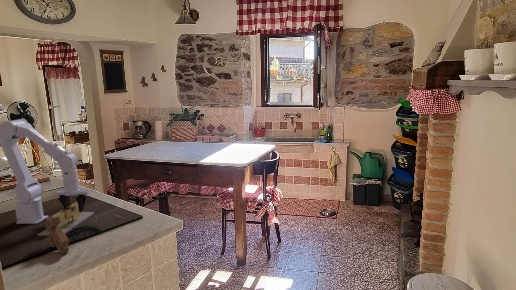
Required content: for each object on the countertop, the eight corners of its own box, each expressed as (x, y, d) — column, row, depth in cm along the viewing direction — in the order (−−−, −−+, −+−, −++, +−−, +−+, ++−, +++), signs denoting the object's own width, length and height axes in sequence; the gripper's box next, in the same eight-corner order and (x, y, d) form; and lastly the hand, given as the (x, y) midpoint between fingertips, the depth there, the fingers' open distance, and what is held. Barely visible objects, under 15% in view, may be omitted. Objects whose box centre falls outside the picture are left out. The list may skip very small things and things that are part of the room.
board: (62, 235, 136) (61, 234, 135) (37, 235, 136) (37, 234, 136) (94, 213, 159) (94, 212, 159) (73, 213, 160) (73, 212, 160)
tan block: (69, 224, 145) (67, 210, 144) (61, 224, 146) (59, 210, 145) (85, 213, 157) (83, 200, 156) (77, 213, 158) (76, 201, 157)
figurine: (60, 263, 121) (45, 237, 130) (68, 261, 123) (52, 235, 131) (61, 234, 116) (45, 208, 124) (69, 232, 117) (52, 207, 126)
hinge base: (57, 232, 138) (54, 217, 137) (49, 232, 138) (47, 217, 137) (74, 221, 149) (72, 207, 148) (66, 221, 149) (64, 207, 148)
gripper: (48, 184, 147) (53, 215, 149) (81, 183, 146) (85, 214, 148) (59, 179, 154) (63, 209, 156) (90, 179, 153) (94, 208, 155)
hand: (74, 211), depth 153 cm, fingers open, 5 cm apart
